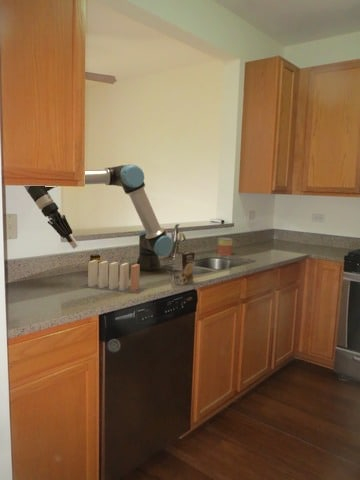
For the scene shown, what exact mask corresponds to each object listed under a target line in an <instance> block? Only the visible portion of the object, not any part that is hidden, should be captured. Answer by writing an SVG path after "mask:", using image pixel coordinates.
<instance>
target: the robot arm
mask: <svg viewBox="0 0 360 480" xmlns="http://www.w3.org/2000/svg"><path fill="white" fill-rule="evenodd" d="M144 179H145V173H144V171H143V170H142V168H141V167H139V166H138V165H136V164H124V165H122V164H121V165H117V166H111V167H104V169H85V184H84V185H101V184H102V185H105V186H115V187H122V189H123V191H124V194H126V195H128V196H129V198H130V200H131V202H132V204H133V207H134V210H135V211H136V213H137V215H138V217H139V219H140V222H141V224H142V226H143V229H144V230H141V231H139V236H138V238H139V239H138V240H139V243H138V244H139V246H138V247H139V248H138V251H139V252H138V253H139V254H138V258H137V261H136V263H135V264H140V270H139V271H146V272H151V271H152V272H155V271H160V270H162V264H161V259H160V257H166V256H167V255H169V254H171V252H172V250H173V248H174V242H173V241H174V240H173V239H172V237H170V236H169V235H168V234H167V231H166V230H165V228H163V227H161V225H160V222H159V221H158V218H157V216H156V214H155V210H153V207H152V205H151V202H150V200H149V197H148V195H147V193H146V191H145V187H146V184H145V181H144ZM23 187H24V189H25V190H26V192H27V193H28V195H29V197H30V198H31V199H32V200H33V201H34V204H35V205H36V206H37V208H38V209H39V210H41V213H42V215H43V216H44V217H45V218H48V221H47V224H48V225H50V226H51V227H52V228H53V229H54V231H55V232H56V233H58V235H59V236H60V238H63V239H65V240H66V241H67V242H68V243H69V245H70V246H71V248H72V249H73V250H74V249H76V248H77V247H78V246H80V244H79V243H78V242H77V240H76V239H75V237H74V236H73V235H72V234H73V230H72V228H71V225H70V223H69V222H68V220H67V218H66V215H65V214H63V215H62V214H61V213H60V212H59V207H58V205H57V204H56V202H55V201H54V199H53V198H52V197H51V195H50V193H49V191H50V190H53V189H54V188H56V187H45V186H24V185H23Z"/></svg>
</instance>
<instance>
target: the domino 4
mask: <svg viewBox="0 0 360 480" xmlns="http://www.w3.org/2000/svg"><path fill="white" fill-rule="evenodd" d="M129 270H130V263H129V262H124V263H122V264H120V265H119V285H120V287H119V290H120V291H124V290H125V289H127V288H128V286H129V279H130V278H129V275H130V274H129V273H130V271H129Z"/></svg>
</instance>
